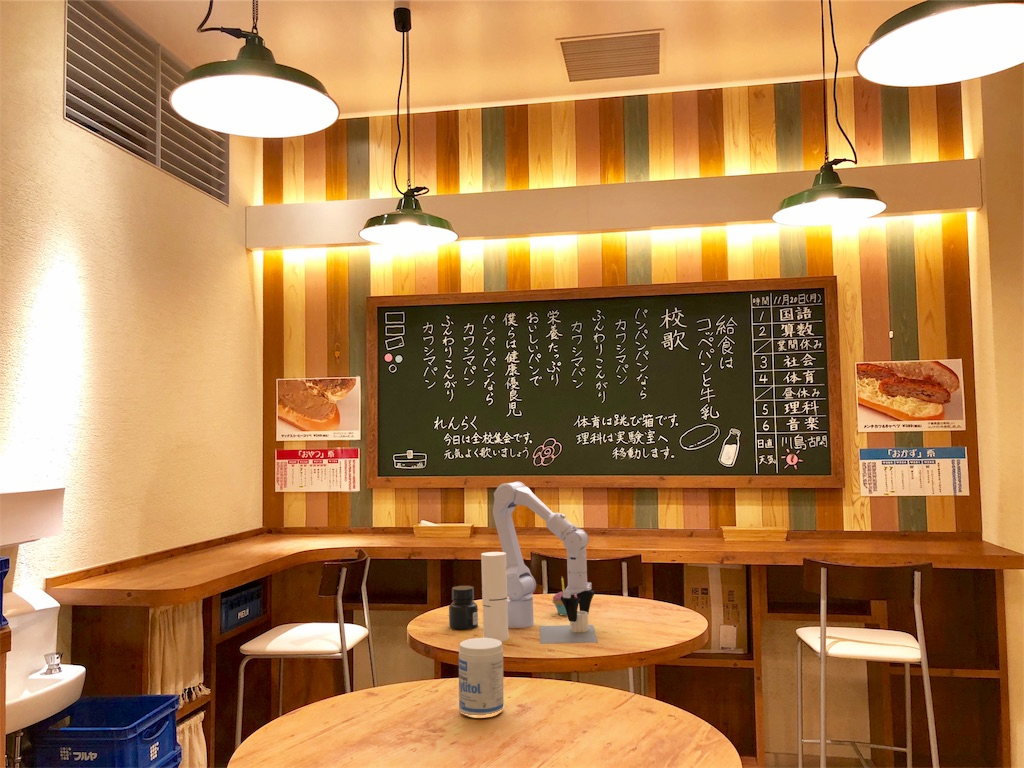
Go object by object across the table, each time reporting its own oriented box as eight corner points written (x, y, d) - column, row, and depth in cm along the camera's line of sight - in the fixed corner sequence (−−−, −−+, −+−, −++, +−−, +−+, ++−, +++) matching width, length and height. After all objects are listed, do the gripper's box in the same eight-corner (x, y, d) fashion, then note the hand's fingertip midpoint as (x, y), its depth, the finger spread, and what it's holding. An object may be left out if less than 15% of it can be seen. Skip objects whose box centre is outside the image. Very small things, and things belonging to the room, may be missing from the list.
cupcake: (548, 612, 265) (547, 575, 266) (571, 609, 268) (569, 573, 269) (560, 617, 257) (559, 579, 258) (583, 614, 261) (582, 577, 261)
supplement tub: (451, 717, 170) (449, 646, 171) (472, 703, 179) (470, 635, 180) (492, 723, 166) (490, 650, 167) (511, 708, 175) (509, 639, 176)
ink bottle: (482, 628, 246) (481, 589, 247) (454, 632, 243) (453, 591, 243) (472, 622, 255) (471, 583, 256) (445, 625, 252) (444, 586, 252)
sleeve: (583, 633, 233) (582, 615, 233) (567, 631, 236) (566, 613, 236) (591, 629, 238) (590, 611, 238) (575, 627, 240) (575, 610, 241)
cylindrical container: (505, 646, 225) (503, 555, 227) (480, 645, 227) (478, 555, 228) (510, 639, 232) (508, 551, 234) (486, 638, 234) (484, 551, 235)
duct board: (540, 647, 223) (539, 626, 223) (540, 629, 243) (539, 610, 243) (598, 645, 223) (597, 625, 223) (593, 628, 243) (592, 609, 243)
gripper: (577, 576, 230) (579, 625, 229) (600, 568, 242) (601, 614, 241) (556, 574, 233) (557, 622, 232) (579, 566, 246) (580, 612, 245)
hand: (578, 618), depth 237 cm, fingers open, 7 cm apart
